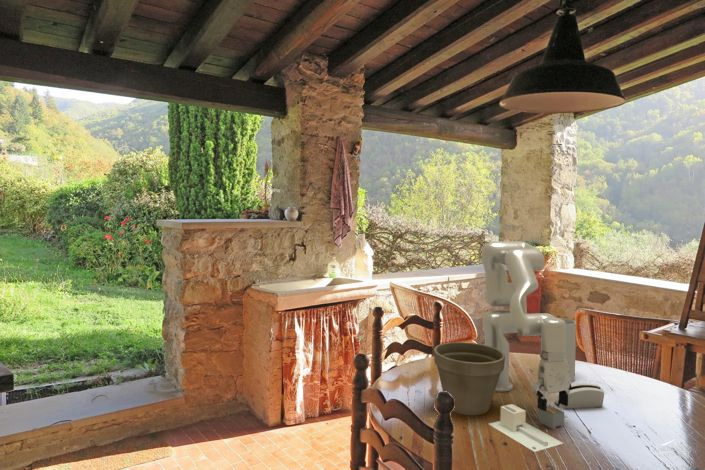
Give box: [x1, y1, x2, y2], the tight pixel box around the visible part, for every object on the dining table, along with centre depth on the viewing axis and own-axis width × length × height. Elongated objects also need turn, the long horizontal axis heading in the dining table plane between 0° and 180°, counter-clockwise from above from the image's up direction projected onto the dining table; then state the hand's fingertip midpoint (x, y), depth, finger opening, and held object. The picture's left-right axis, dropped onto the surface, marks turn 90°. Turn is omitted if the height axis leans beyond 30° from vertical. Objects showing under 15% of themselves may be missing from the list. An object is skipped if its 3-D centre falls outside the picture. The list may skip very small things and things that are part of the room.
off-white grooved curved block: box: [553, 382, 605, 410], centre depth 172 cm, size 17×5×10 cm, turn 97°
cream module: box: [499, 403, 527, 432], centre depth 154 cm, size 6×5×6 cm
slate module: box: [538, 405, 565, 430], centre depth 155 cm, size 6×5×6 cm
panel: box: [488, 420, 564, 453], centre depth 149 cm, size 20×12×2 cm, turn 25°
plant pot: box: [433, 341, 505, 416], centre depth 169 cm, size 25×25×22 cm
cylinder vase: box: [559, 317, 577, 382], centre depth 201 cm, size 12×12×25 cm
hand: (552, 407), depth 155 cm, fingers open, 9 cm apart
